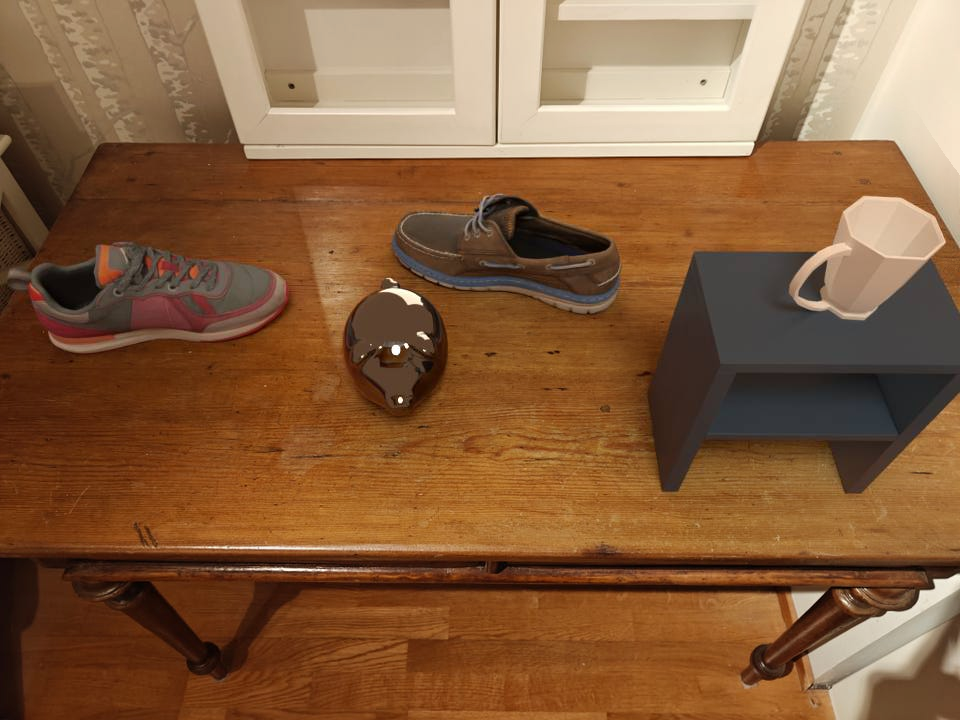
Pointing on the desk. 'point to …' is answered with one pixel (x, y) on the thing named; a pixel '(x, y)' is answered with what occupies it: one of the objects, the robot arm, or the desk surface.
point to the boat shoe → (511, 254)
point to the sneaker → (148, 298)
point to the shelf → (799, 365)
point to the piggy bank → (395, 347)
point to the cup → (871, 256)
